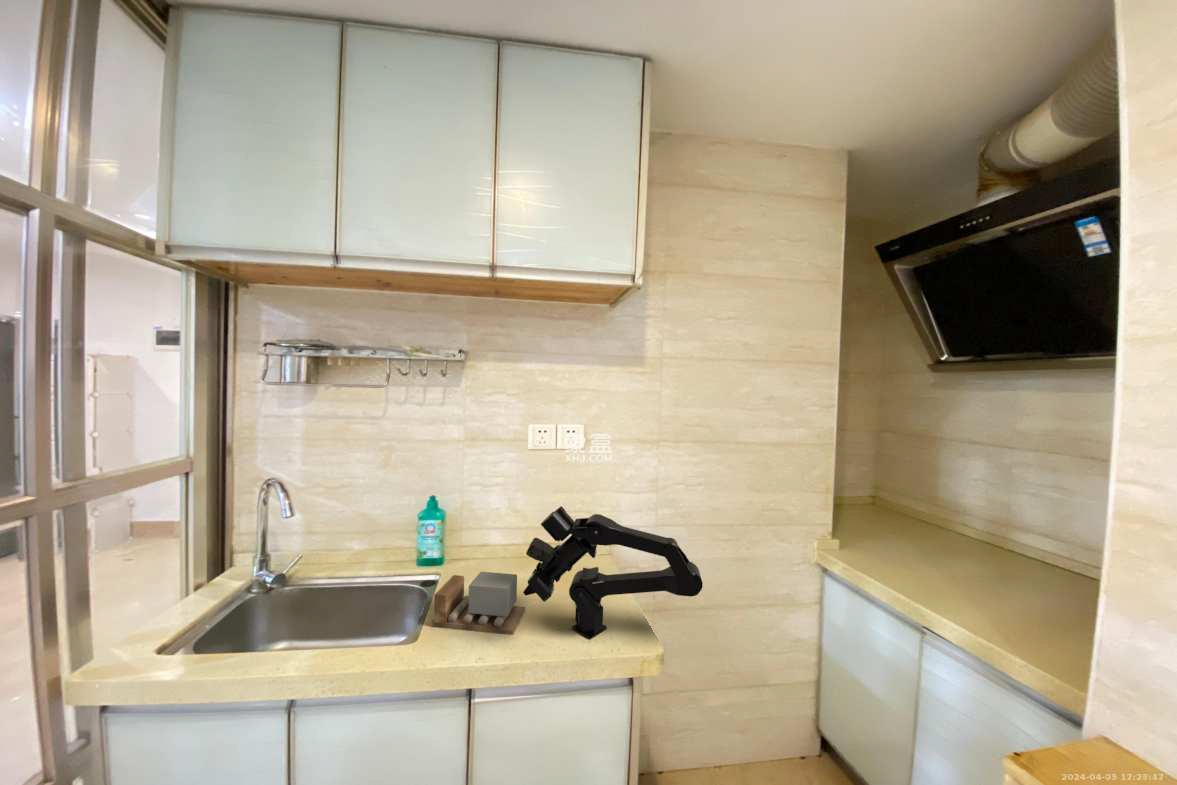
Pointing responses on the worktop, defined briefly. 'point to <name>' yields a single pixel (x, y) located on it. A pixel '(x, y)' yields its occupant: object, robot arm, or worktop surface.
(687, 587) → the robot arm
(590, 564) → the worktop surface
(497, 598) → the gray rectangular block
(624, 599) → the worktop surface
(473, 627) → the roller bed
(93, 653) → the worktop surface
